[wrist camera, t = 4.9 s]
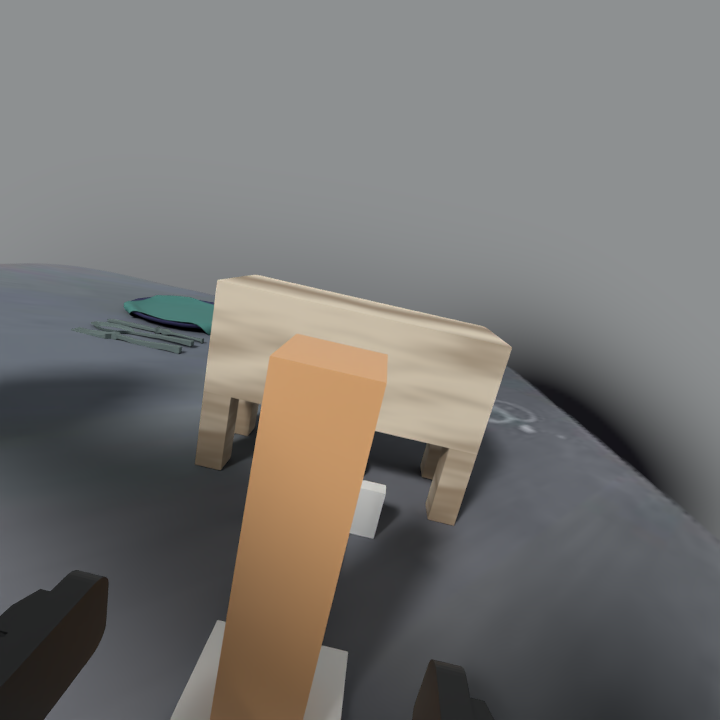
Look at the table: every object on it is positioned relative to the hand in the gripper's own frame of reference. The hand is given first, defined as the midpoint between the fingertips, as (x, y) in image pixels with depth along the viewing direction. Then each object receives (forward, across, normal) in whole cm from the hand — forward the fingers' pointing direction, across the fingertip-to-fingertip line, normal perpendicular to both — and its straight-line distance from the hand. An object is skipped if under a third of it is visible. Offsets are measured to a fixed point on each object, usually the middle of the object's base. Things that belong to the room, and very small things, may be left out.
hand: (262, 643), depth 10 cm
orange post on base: (+9, 0, +9) cm, 12 cm away
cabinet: (+23, 0, +8) cm, 25 cm away
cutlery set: (+56, +31, +9) cm, 65 cm away
